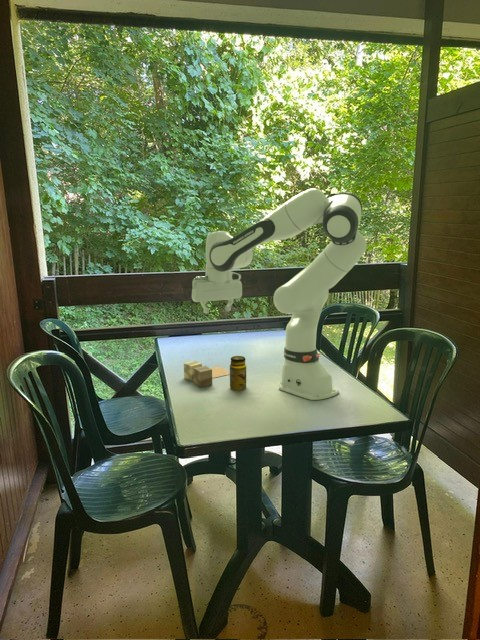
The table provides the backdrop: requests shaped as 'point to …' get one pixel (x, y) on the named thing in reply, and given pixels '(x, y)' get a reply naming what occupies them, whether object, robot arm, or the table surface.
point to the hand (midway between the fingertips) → (217, 311)
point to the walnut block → (203, 376)
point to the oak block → (190, 369)
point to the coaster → (219, 372)
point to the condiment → (238, 373)
